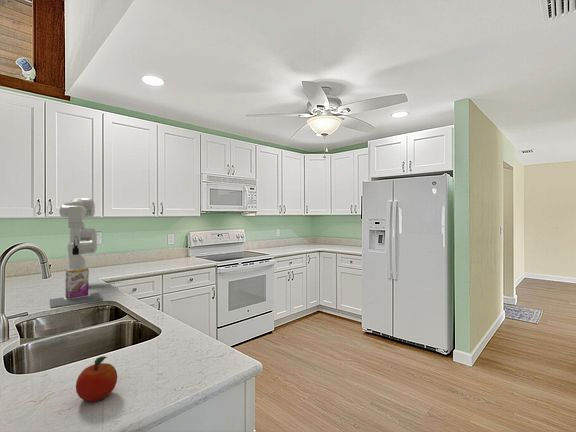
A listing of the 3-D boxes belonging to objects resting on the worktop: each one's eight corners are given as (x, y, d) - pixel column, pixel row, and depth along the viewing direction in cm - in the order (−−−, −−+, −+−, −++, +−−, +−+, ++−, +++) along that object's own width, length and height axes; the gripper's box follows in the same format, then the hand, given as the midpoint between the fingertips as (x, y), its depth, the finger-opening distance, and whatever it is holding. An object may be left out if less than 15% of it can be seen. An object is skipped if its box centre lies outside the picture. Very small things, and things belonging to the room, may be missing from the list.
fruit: (65, 406, 78) (65, 367, 78) (95, 385, 88) (95, 351, 88) (98, 410, 77) (98, 370, 77) (125, 388, 86) (124, 353, 86)
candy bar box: (66, 298, 179) (66, 270, 179) (65, 297, 182) (65, 269, 182) (88, 295, 186) (88, 268, 186) (87, 293, 190) (87, 267, 190)
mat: (49, 300, 179) (49, 298, 179) (97, 293, 194) (97, 292, 194) (50, 308, 163) (50, 306, 163) (102, 300, 178) (102, 299, 178)
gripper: (67, 225, 195) (67, 254, 195) (68, 225, 184) (69, 256, 184) (81, 225, 200) (81, 253, 200) (83, 225, 188) (84, 255, 188)
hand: (75, 254), depth 192 cm, fingers closed
